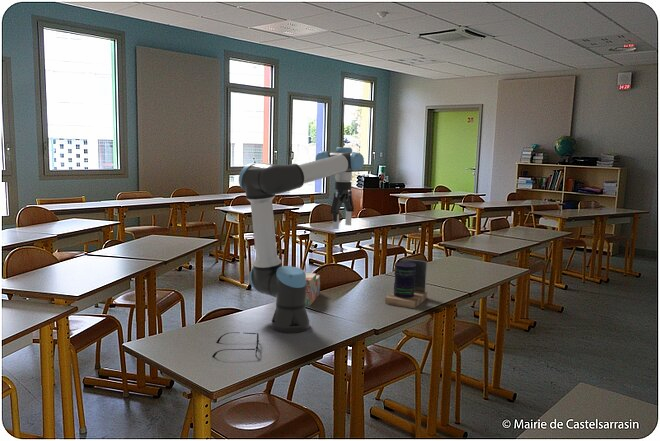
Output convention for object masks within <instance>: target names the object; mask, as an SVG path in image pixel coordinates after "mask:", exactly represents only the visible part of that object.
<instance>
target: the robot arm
mask: <svg viewBox="0 0 660 441" xmlns="http://www.w3.org/2000/svg"><path fill="white" fill-rule="evenodd" d="M364 159H365V158H364V155H363V154H362V153H360V152H355V151H353V148H352V147H346V146H345V147H341V146H340V147H339V146H337V147H336V149H335V151H330V150H329V151H327V150H326V151H325V150H324V151H323V150H322V151H319V152H318V153H317V154H316V155H315V160H314V161H310V162H306V163H302V164H297V163H291V164H275V163H263V162H262V163H261V162H252V163H251V162H250V163H248V164H246V165H245V166H243V168H242V169H241V170H240V172H239V175H238V184H239V187H240V188H241V189H242V190H243V191H244V192H245V199H246V200H247V201H249V202H250V209H251V211H250V213H251V220H252V229H253V230H252V231H253V238H254V239H253V241H254V249H255V260H254V261H253V263H252V267H251V269H250V270H251V271H249V273H248V280H249V284H250V286H251V287H252V289H254V290H255V291H257V292H258V293H261V294H265V295H268V296H269V297H270V296H271V297H274V298H275V302H276V303H275V310H274V313H273V316H272V318H271V328H272V330H274V331H277V332H280V333H285V334H286V333H287V334H288V333H290V334H291V333H292V334H294V333H301V332H305V331H307V330H308V329H309V328H310V323H311V322H310V319H309V315H308V312H307V309H306V308H307V307H306V305H305V303H306V274H305V273H306V272H305V270H303V269H302V268H299V267H297V266H290V265H284V266H283V264H282V260H281V259H280V258H279V257H278V250H277V240H276V228H275V227H276V226H275V220H274V218H275V217H274V206H273V200H274V198H276V195H280V194H284V193H287V192H290V191H293V190H297V189H300V188H302V187H303V186H304V184H307V183H311V182H315V181H317V180H318V181H319V180H321V179H324V178H328V177H332V176H335V177H334V178H335V179H334V180H335V183H334V189H335V190H337V192H336V191H335V192H334V193H333V198H332V199H333V200H332V202H331V203H332V205H331V207H330V211H329V212H330V215H332V229H333V230H335V229H336V230H339V228H340V226H339V224H340V223H339V222H340V214H339V213H340V210H341V206H342V205H343V204H344V207H345V210H346V211H345V224H344V225H345V226H352V212H354V211H355V206H354V201H353V196H352V195H353V193H352V180H353V179H352V178H353V172H354V171H360V170H361V169H362V168H364V164H365V160H364Z"/></svg>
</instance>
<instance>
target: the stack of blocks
mask: <svg viewBox="0 0 660 441" xmlns="http://www.w3.org/2000/svg"><path fill="white" fill-rule="evenodd" d="M305 274H306V303H305V307H306V306H307V307H309V306H311V305H312V304H313V303H314V302H315V300H316V299H317V298H318V296H319V295H320V294H321V275H320V274H317V273H311V272H310V273H309V272H305Z"/></svg>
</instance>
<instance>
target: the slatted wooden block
mask: <svg viewBox="0 0 660 441" xmlns="http://www.w3.org/2000/svg"><path fill="white" fill-rule="evenodd" d="M384 298H385V304H386V305H391V306H395V307H396V306H397V307H403V308H408V309H416V308H417V307H418V306H420V305H421V304H422V303H423V302H424V301H425V300H427V299H428V291H425V292H419V291H414V297H412V298H400V297H396V296H394V291H393V292H392V293H390V294H389V295H386V296H385V297H384Z"/></svg>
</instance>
